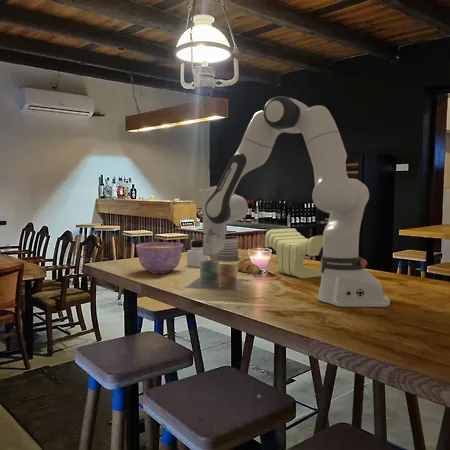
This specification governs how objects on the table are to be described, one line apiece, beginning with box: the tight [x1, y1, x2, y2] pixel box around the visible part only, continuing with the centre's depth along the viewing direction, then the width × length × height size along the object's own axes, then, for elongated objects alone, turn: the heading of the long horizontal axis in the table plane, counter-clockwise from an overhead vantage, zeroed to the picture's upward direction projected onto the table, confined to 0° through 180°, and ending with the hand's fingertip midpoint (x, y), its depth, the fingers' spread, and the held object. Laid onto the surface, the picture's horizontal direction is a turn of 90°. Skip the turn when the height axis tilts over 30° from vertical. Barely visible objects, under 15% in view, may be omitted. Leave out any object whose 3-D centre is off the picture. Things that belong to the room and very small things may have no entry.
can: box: [217, 235, 239, 262], centre depth 233 cm, size 11×11×12 cm
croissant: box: [236, 255, 261, 275], centre depth 201 cm, size 21×10×8 cm, turn 17°
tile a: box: [199, 259, 220, 283], centre depth 174 cm, size 7×2×8 cm, turn 77°
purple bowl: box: [135, 241, 184, 274], centre depth 198 cm, size 20×20×12 cm
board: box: [184, 277, 245, 291], centre depth 170 cm, size 18×18×1 cm
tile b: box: [219, 263, 238, 289], centre depth 165 cm, size 6×2×8 cm, turn 77°
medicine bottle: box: [186, 239, 209, 268], centre depth 214 cm, size 7×7×12 cm
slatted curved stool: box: [264, 228, 323, 279], centre depth 192 cm, size 30×16×18 cm, turn 29°
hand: (214, 264), depth 180 cm, fingers closed
